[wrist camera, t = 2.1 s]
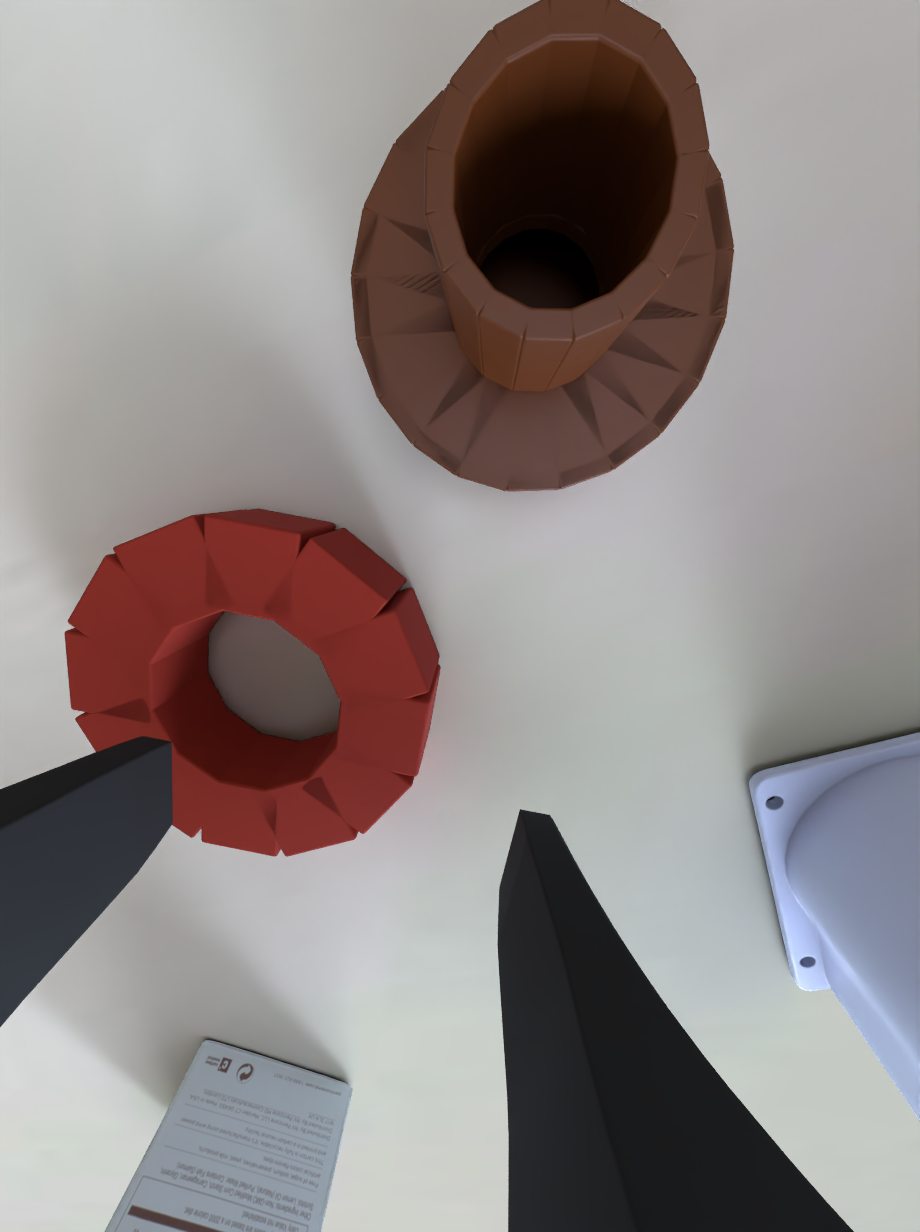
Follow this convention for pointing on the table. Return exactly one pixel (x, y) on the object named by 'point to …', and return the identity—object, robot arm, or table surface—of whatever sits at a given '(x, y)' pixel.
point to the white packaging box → (239, 1149)
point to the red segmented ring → (194, 711)
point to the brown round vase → (546, 251)
